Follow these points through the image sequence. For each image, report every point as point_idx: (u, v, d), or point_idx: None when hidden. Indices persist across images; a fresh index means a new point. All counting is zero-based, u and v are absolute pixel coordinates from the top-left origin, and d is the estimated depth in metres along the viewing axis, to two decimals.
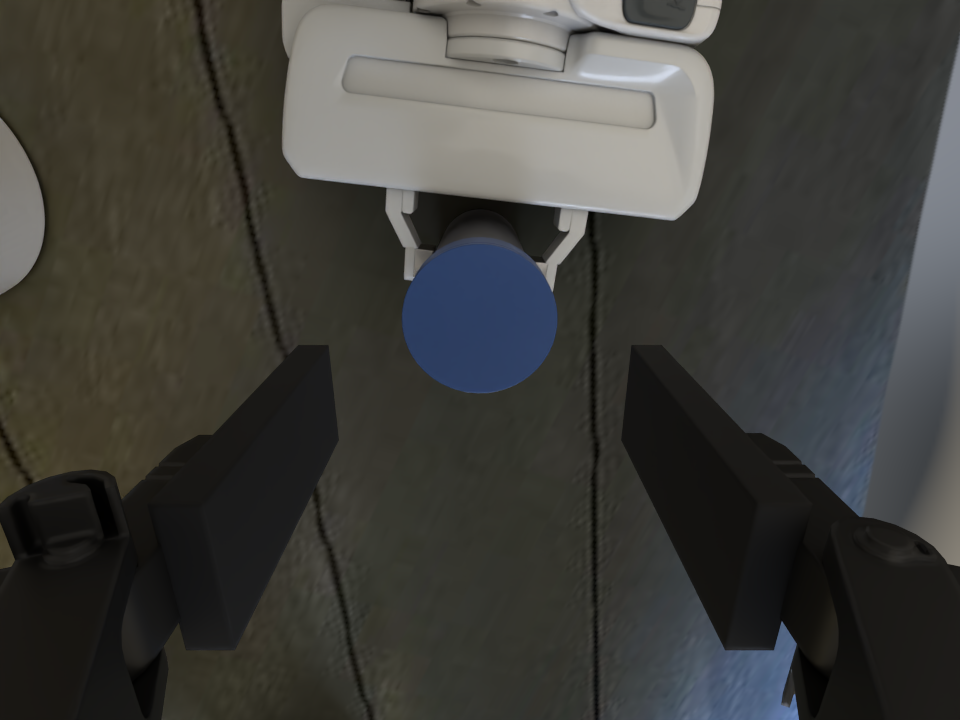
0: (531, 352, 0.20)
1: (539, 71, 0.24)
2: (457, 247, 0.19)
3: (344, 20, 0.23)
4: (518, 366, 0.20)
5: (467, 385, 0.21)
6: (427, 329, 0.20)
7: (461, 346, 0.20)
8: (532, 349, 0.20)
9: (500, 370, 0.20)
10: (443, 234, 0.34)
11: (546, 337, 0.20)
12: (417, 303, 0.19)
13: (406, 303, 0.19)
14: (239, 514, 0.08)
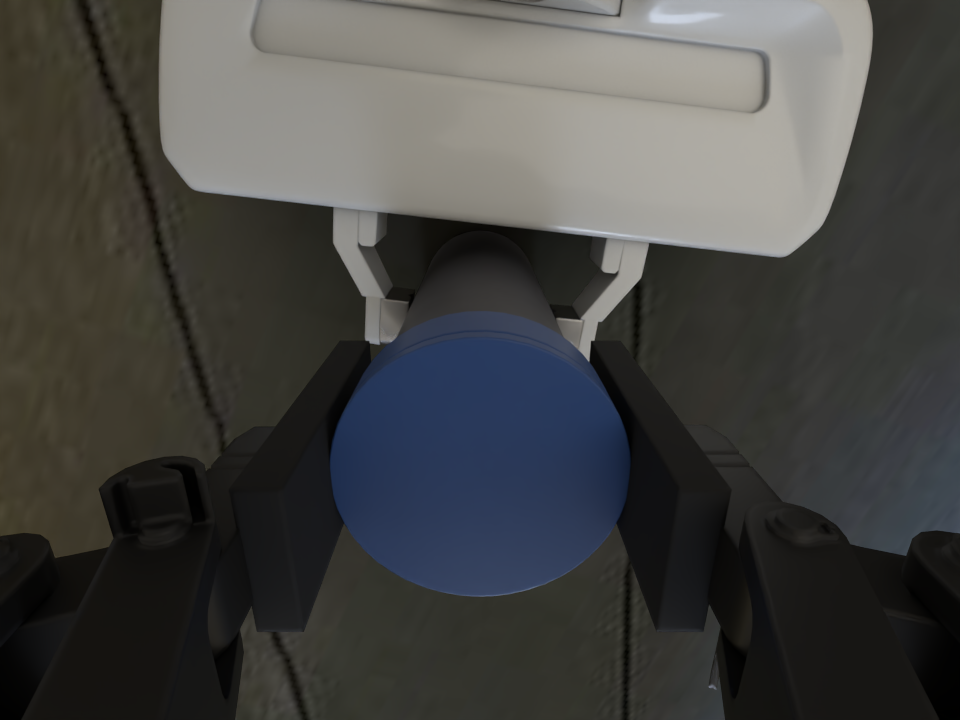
0: (578, 530, 0.11)
1: (579, 16, 0.14)
2: (435, 343, 0.09)
3: None
4: (553, 554, 0.11)
5: (457, 584, 0.11)
6: (379, 492, 0.10)
7: (445, 520, 0.10)
8: (581, 526, 0.11)
9: (519, 560, 0.11)
10: (429, 266, 0.24)
11: (608, 506, 0.10)
12: (358, 447, 0.10)
13: (336, 446, 0.10)
14: (307, 500, 0.09)
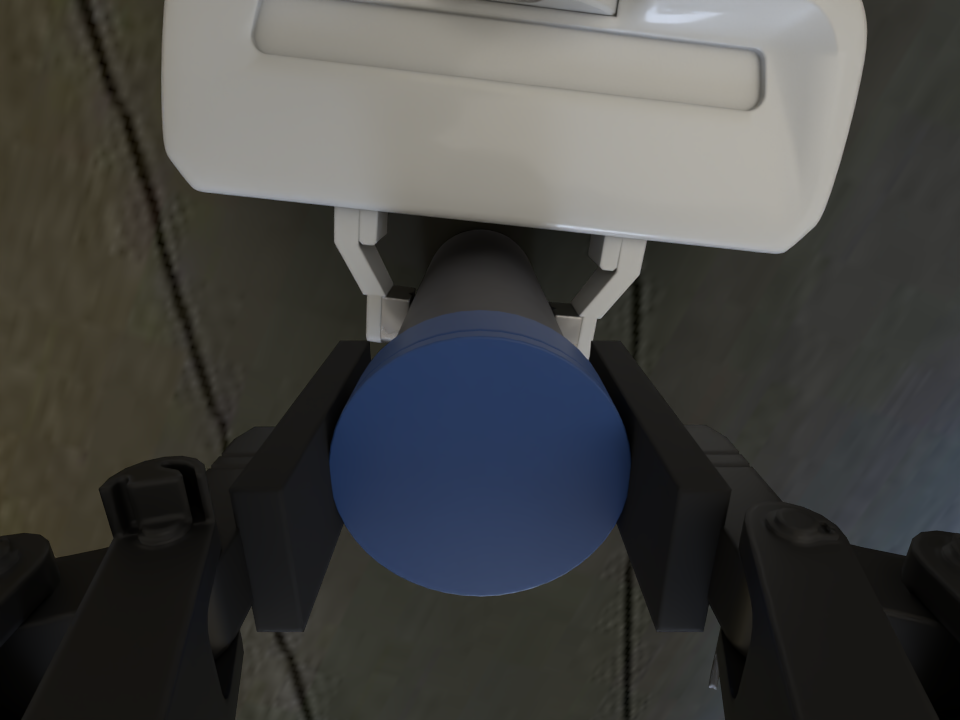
0: (477, 368, 0.09)
1: (576, 16, 0.15)
2: (386, 567, 0.11)
3: None
4: (519, 374, 0.09)
5: (610, 435, 0.10)
6: (542, 543, 0.11)
7: (540, 484, 0.10)
8: (470, 370, 0.09)
9: (546, 399, 0.10)
10: None
11: (431, 362, 0.09)
12: (508, 575, 0.11)
13: (518, 588, 0.11)
14: (307, 501, 0.09)
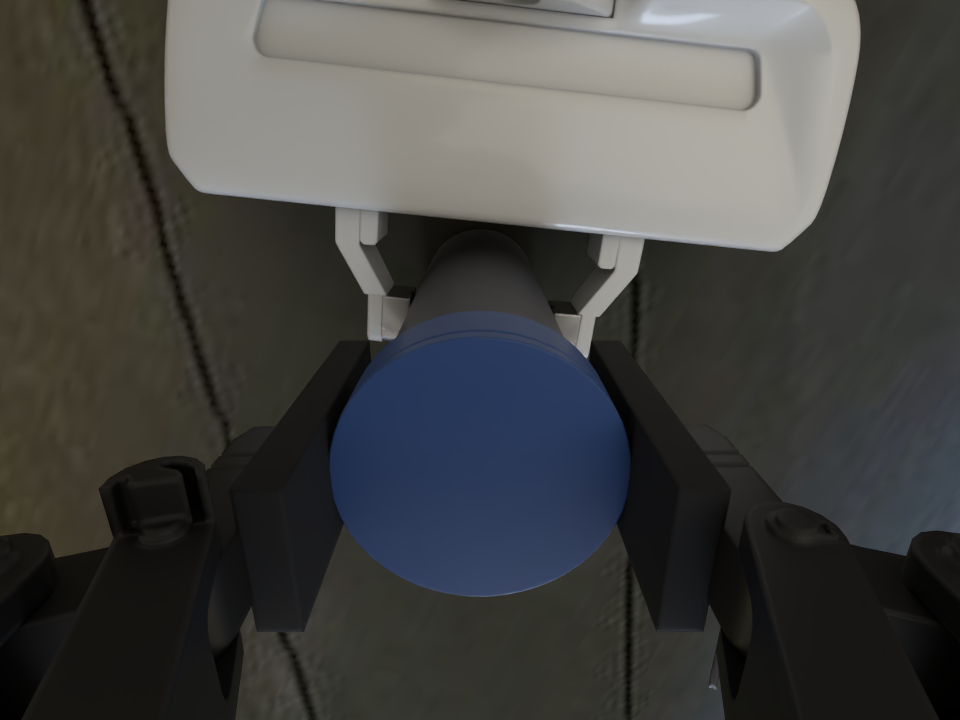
0: (383, 534, 0.11)
1: (573, 17, 0.15)
2: (624, 500, 0.10)
3: None
4: (365, 505, 0.10)
5: (364, 408, 0.10)
6: (513, 391, 0.09)
7: (451, 433, 0.10)
8: (388, 537, 0.11)
9: (370, 475, 0.10)
10: None
11: (401, 564, 0.11)
12: (571, 398, 0.10)
13: (582, 379, 0.09)
14: (307, 500, 0.09)
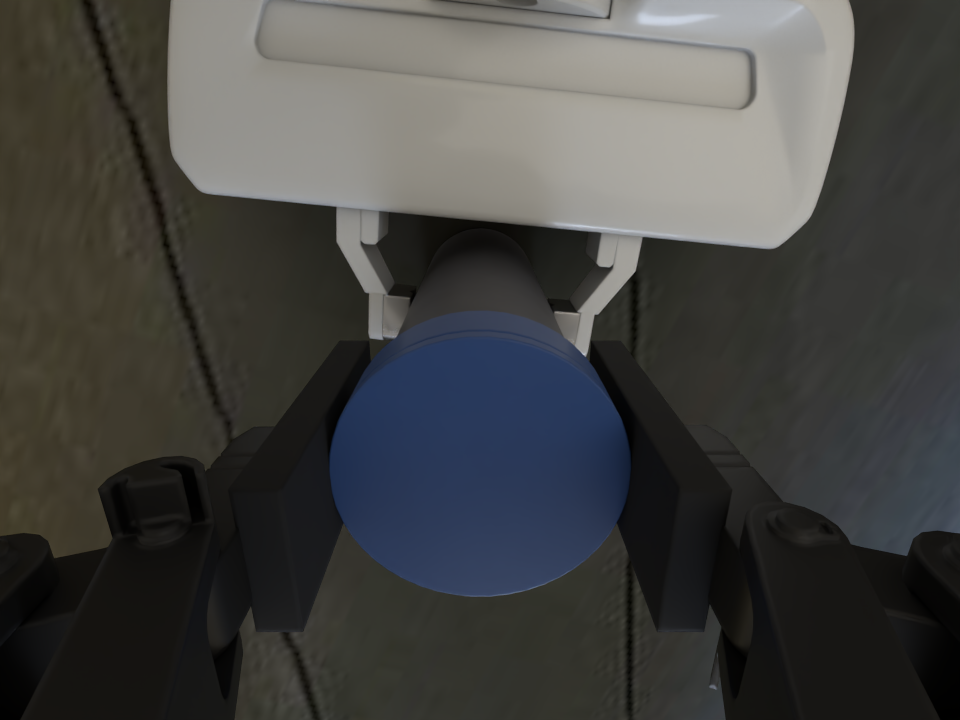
0: (585, 521, 0.10)
1: (570, 19, 0.15)
2: (417, 349, 0.09)
3: None
4: (563, 547, 0.11)
5: (471, 586, 0.11)
6: (382, 501, 0.10)
7: (450, 523, 0.10)
8: (587, 516, 0.10)
9: (529, 556, 0.11)
10: None
11: (612, 493, 0.10)
12: (355, 458, 0.10)
13: (334, 460, 0.10)
14: (306, 500, 0.09)
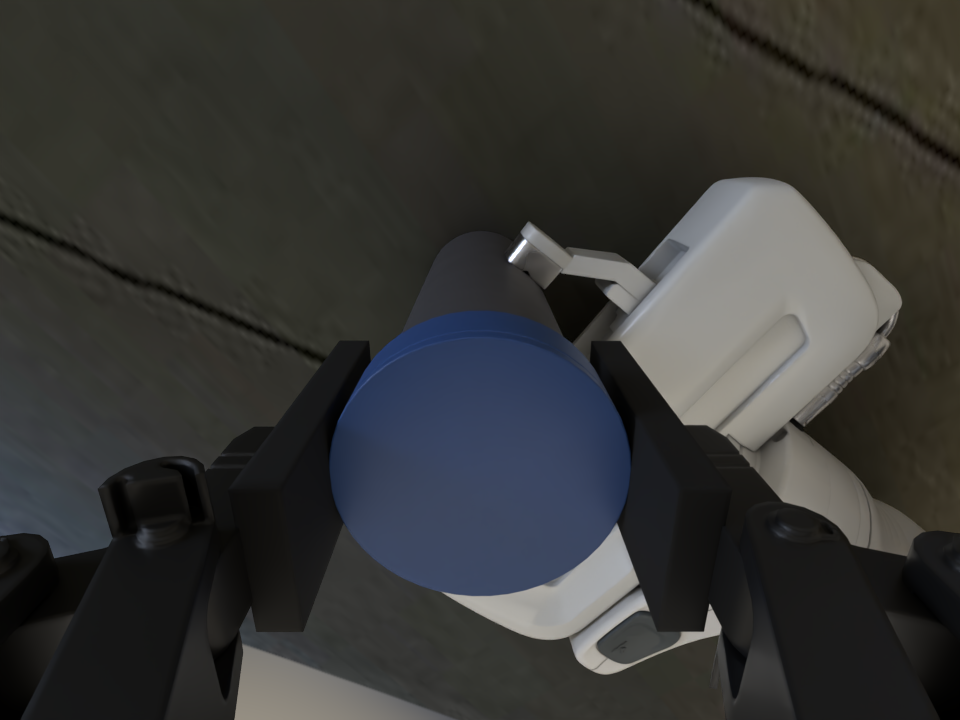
0: (585, 521, 0.10)
1: None
2: (417, 348, 0.09)
3: (841, 360, 0.19)
4: (563, 546, 0.11)
5: (471, 585, 0.11)
6: (382, 501, 0.10)
7: (450, 523, 0.10)
8: (587, 516, 0.10)
9: (529, 556, 0.11)
10: None
11: (612, 493, 0.10)
12: (355, 458, 0.10)
13: (334, 460, 0.10)
14: (306, 500, 0.09)
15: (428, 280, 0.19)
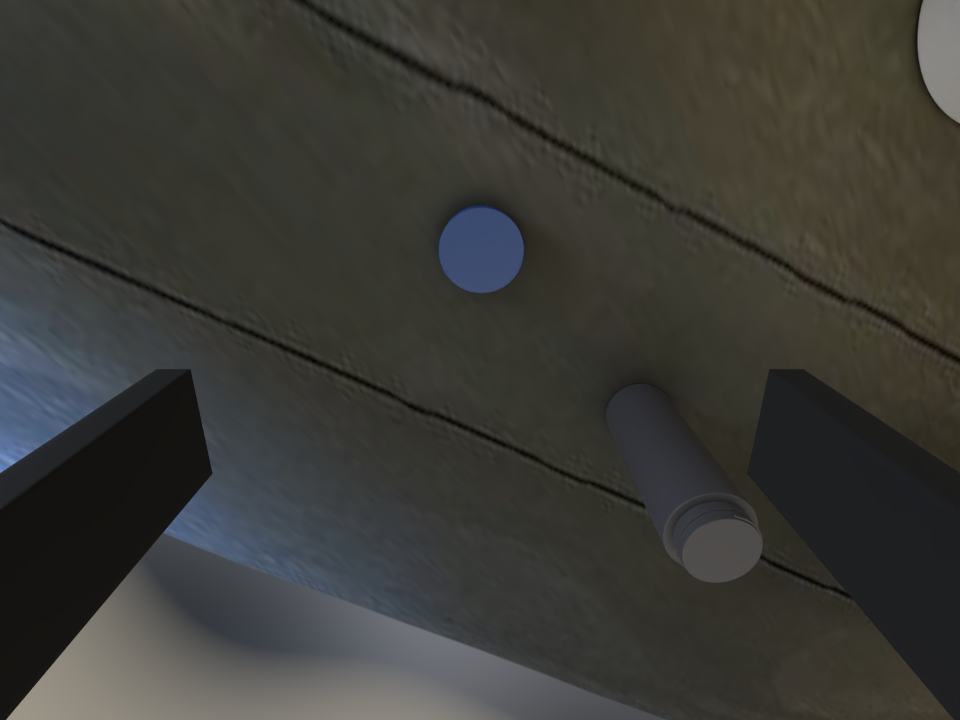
0: (512, 265, 0.36)
1: None
2: (464, 210, 0.35)
3: None
4: (505, 274, 0.36)
5: (478, 289, 0.37)
6: (453, 258, 0.36)
7: (472, 266, 0.36)
8: (512, 263, 0.36)
9: (496, 278, 0.37)
10: None
11: (519, 255, 0.36)
12: (446, 244, 0.36)
13: (440, 245, 0.36)
14: None
15: (641, 438, 0.35)
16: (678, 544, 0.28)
